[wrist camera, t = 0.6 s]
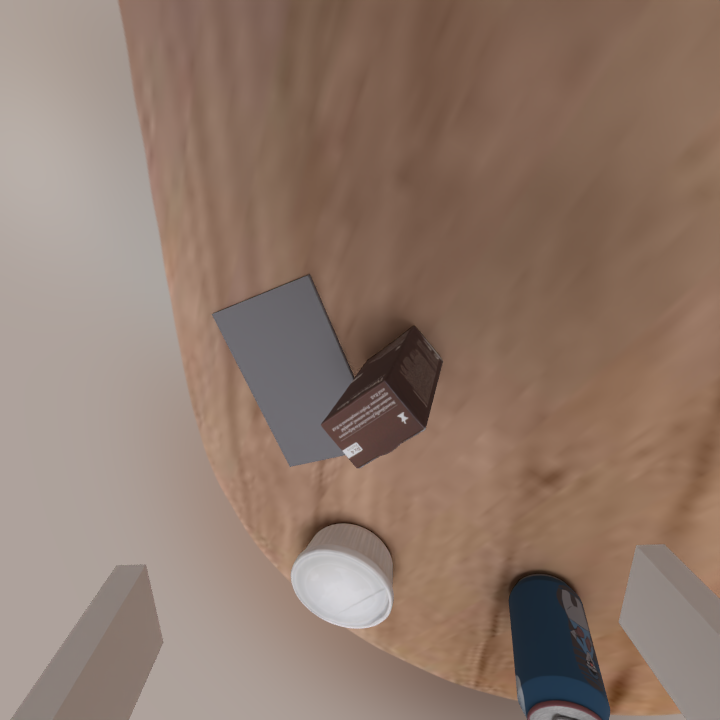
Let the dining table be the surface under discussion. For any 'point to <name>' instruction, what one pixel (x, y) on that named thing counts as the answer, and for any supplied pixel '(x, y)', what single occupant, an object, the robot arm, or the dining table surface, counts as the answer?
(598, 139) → the dining table surface
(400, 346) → the box
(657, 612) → the robot arm
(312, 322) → the mat
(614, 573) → the dining table surface
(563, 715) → the soda can
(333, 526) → the ramekin
